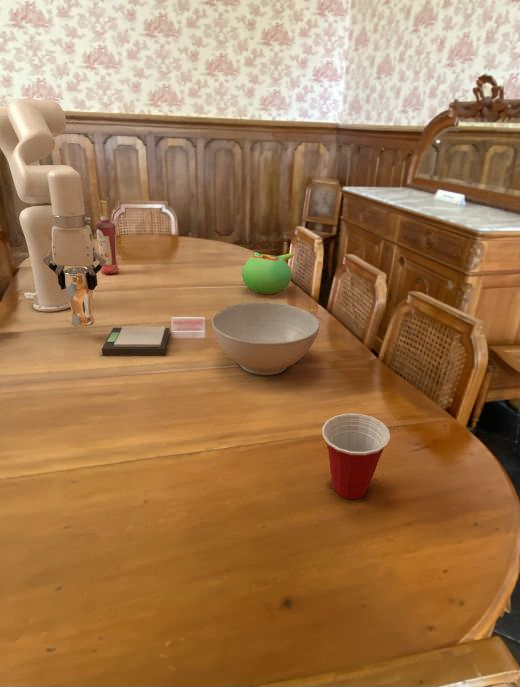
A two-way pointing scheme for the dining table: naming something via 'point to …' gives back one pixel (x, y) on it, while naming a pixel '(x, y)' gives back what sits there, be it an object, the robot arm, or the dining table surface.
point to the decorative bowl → (265, 335)
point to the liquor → (107, 241)
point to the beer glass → (79, 295)
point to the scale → (137, 340)
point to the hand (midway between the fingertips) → (78, 287)
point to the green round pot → (267, 273)
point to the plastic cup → (354, 451)
